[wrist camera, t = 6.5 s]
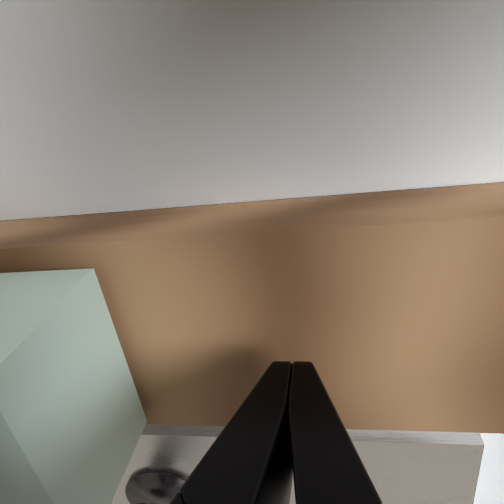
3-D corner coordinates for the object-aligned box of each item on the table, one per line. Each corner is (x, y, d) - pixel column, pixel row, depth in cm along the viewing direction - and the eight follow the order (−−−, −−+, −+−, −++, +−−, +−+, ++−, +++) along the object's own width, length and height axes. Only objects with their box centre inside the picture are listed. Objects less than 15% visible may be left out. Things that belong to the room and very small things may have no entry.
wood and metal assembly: (514, 181, 9) (780, 363, 4) (455, 538, 16) (526, 790, 10) (-242, 239, 13) (-602, 367, 8) (-45, 503, 20) (-174, 671, 15)
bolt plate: (474, 422, 13) (486, 449, 12) (454, 546, 16) (461, 574, 15) (-115, 410, 17) (-137, 429, 16) (-40, 510, 20) (-55, 530, 19)
